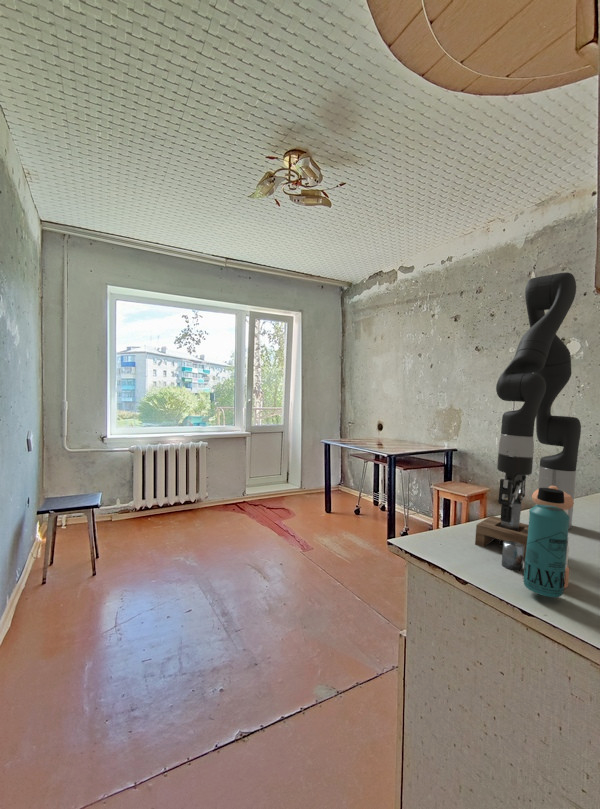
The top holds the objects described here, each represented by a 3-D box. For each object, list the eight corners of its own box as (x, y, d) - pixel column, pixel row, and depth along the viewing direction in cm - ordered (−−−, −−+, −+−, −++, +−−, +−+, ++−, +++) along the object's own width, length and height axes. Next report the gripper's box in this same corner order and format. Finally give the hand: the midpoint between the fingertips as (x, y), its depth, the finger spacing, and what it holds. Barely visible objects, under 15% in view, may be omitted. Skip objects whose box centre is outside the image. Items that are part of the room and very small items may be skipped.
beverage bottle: (513, 589, 71) (521, 485, 71) (538, 585, 73) (546, 484, 73) (547, 608, 65) (556, 494, 65) (572, 603, 67) (581, 493, 67)
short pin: (504, 561, 84) (506, 539, 84) (524, 567, 82) (526, 544, 82) (499, 566, 81) (500, 543, 81) (519, 573, 79) (521, 549, 79)
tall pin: (502, 542, 97) (505, 499, 96) (519, 546, 94) (522, 503, 94) (497, 545, 94) (500, 501, 93) (515, 550, 91) (518, 505, 91)
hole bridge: (490, 533, 102) (491, 515, 102) (541, 548, 94) (543, 528, 94) (475, 544, 93) (476, 524, 93) (530, 561, 85) (531, 539, 85)
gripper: (506, 449, 101) (502, 509, 101) (490, 453, 91) (485, 519, 91) (539, 453, 96) (534, 516, 96) (525, 457, 86) (520, 528, 86)
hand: (510, 518), depth 94 cm, fingers open, 8 cm apart
